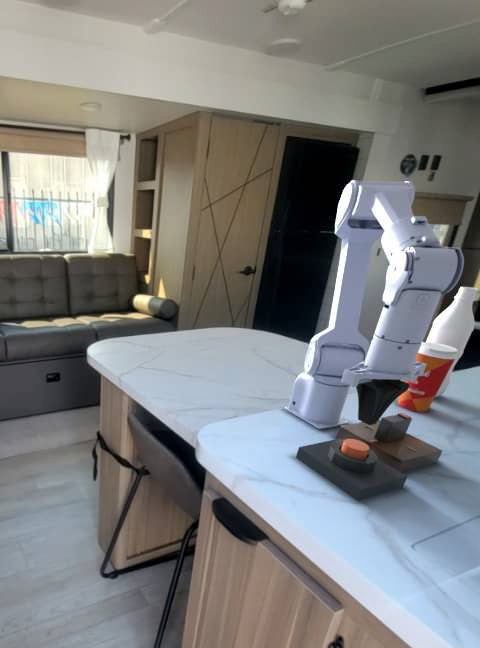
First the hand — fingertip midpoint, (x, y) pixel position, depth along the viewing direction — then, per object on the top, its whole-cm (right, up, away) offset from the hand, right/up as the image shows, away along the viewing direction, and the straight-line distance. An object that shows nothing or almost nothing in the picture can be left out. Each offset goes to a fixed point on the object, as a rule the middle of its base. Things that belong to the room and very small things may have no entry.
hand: (366, 421), depth 63 cm
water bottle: (+37, +5, +34) cm, 51 cm away
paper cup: (+29, +2, +28) cm, 40 cm away
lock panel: (+10, -6, +11) cm, 16 cm away
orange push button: (-1, -5, +2) cm, 6 cm away
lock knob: (+10, -3, +9) cm, 15 cm away
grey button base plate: (-1, -9, +4) cm, 9 cm away
